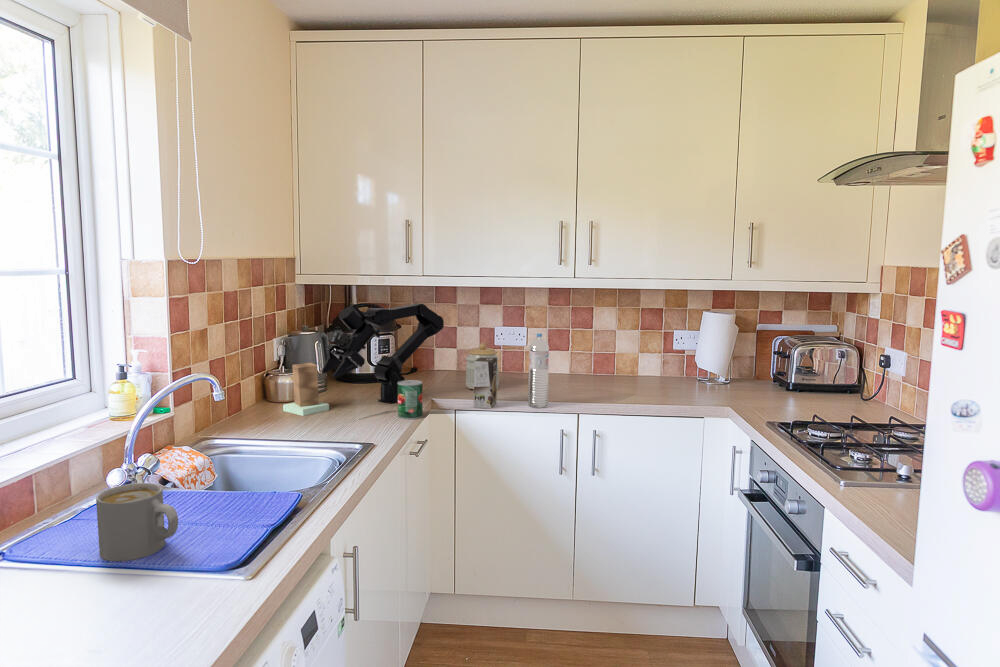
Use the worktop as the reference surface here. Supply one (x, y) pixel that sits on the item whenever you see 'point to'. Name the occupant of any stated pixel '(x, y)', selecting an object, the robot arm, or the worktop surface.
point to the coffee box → (485, 382)
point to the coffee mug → (133, 521)
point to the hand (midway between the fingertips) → (328, 374)
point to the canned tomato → (410, 399)
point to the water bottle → (538, 373)
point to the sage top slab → (305, 408)
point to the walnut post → (305, 384)
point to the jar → (473, 356)
